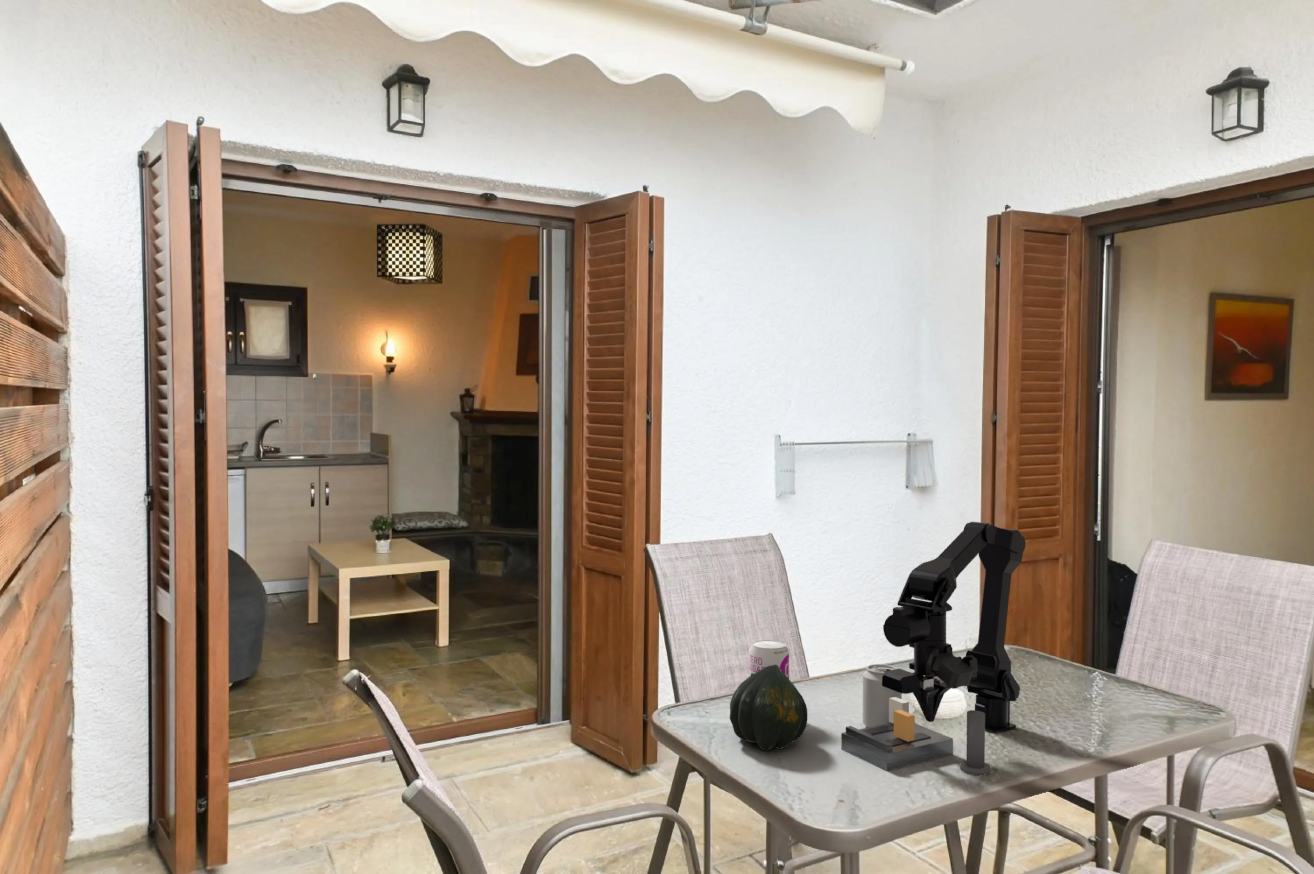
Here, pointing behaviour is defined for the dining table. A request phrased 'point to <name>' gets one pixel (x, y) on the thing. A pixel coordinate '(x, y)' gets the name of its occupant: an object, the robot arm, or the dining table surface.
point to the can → (876, 695)
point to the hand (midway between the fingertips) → (930, 721)
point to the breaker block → (895, 746)
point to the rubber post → (975, 745)
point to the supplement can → (768, 656)
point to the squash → (768, 709)
